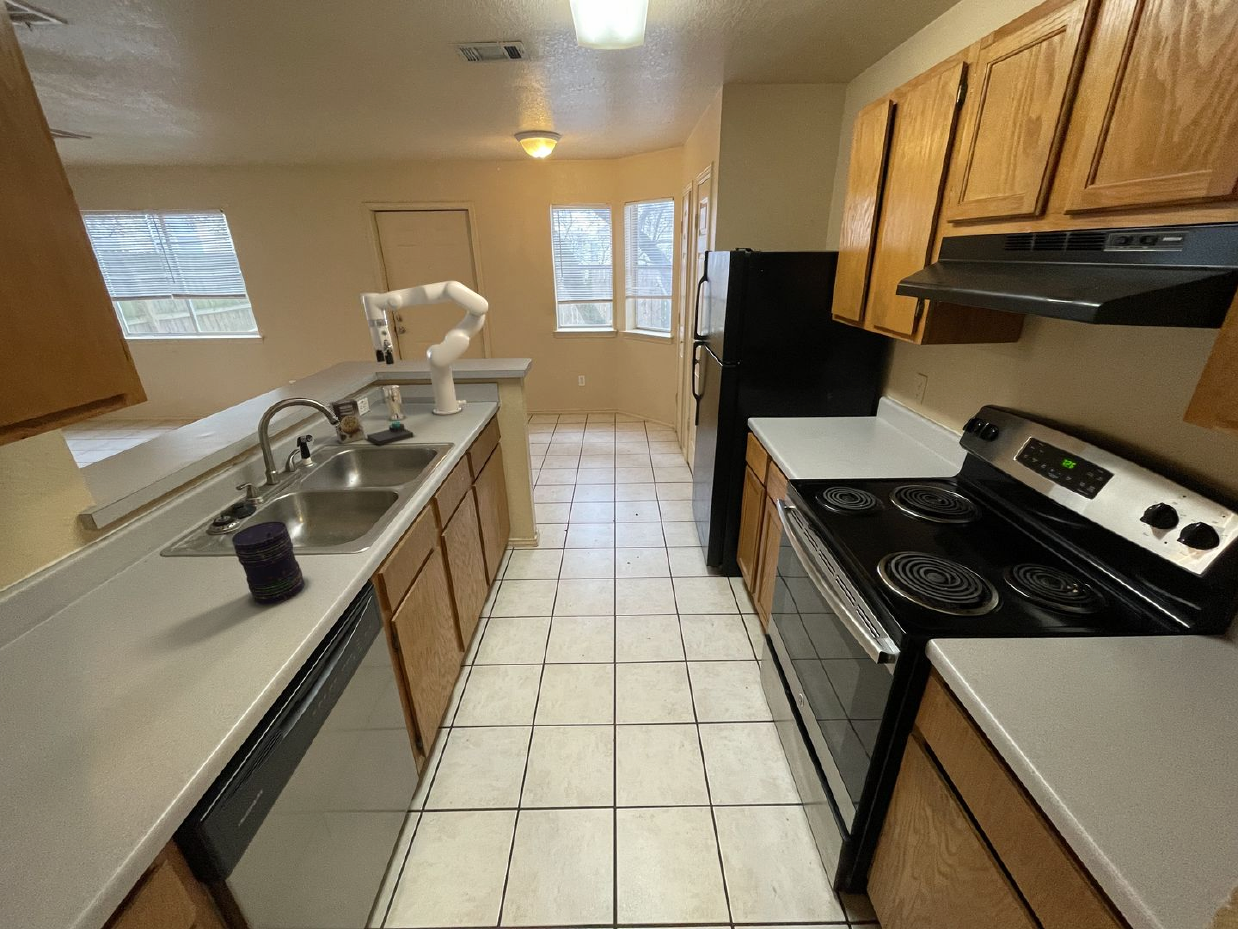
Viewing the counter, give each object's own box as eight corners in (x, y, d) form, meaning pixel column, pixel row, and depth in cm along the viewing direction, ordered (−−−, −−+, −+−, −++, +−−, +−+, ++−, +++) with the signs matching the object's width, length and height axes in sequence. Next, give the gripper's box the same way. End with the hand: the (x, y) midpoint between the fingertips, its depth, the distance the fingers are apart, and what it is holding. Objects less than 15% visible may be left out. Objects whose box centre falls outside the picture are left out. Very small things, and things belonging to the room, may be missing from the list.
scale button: (398, 424, 215) (397, 421, 214) (401, 426, 213) (400, 422, 212) (391, 426, 213) (390, 423, 213) (394, 428, 211) (393, 424, 211)
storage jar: (242, 599, 110) (219, 540, 104) (285, 574, 118) (265, 518, 112) (274, 609, 106) (252, 548, 100) (315, 583, 115) (297, 525, 109)
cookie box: (342, 444, 204) (332, 405, 198) (338, 440, 208) (328, 402, 202) (366, 438, 209) (357, 400, 203) (361, 435, 214) (352, 397, 208)
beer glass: (386, 420, 233) (379, 388, 227) (396, 415, 239) (390, 384, 234) (398, 421, 231) (392, 388, 226) (408, 416, 237) (402, 385, 232)
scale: (401, 430, 218) (400, 422, 217) (414, 436, 210) (413, 428, 209) (367, 439, 209) (365, 430, 207) (379, 445, 201) (377, 437, 199)
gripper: (394, 323, 216) (402, 363, 222) (378, 321, 227) (386, 359, 234) (376, 325, 211) (385, 366, 217) (361, 323, 222) (369, 362, 229)
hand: (385, 362), depth 225 cm, fingers open, 9 cm apart
